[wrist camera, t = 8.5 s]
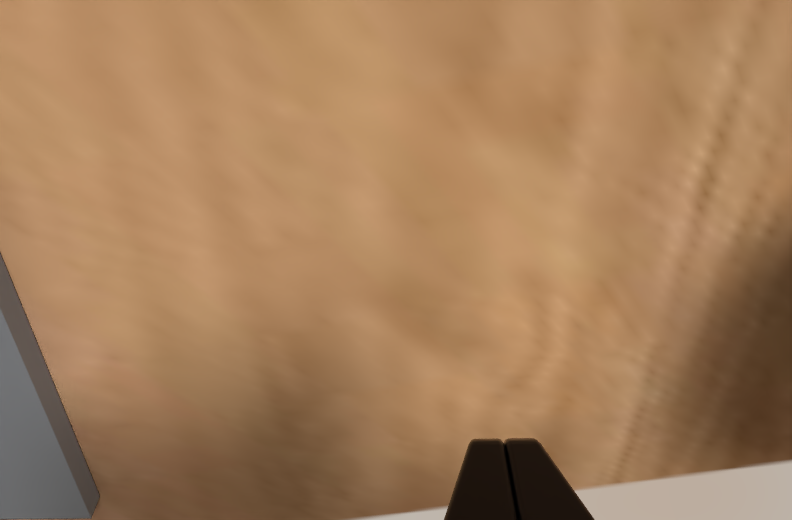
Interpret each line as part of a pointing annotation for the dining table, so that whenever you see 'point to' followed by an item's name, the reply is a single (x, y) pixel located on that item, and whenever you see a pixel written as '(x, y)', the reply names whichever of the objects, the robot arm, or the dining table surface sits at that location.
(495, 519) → the robot arm
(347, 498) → the dining table surface
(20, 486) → the mounting board
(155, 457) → the dining table surface
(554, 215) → the dining table surface
